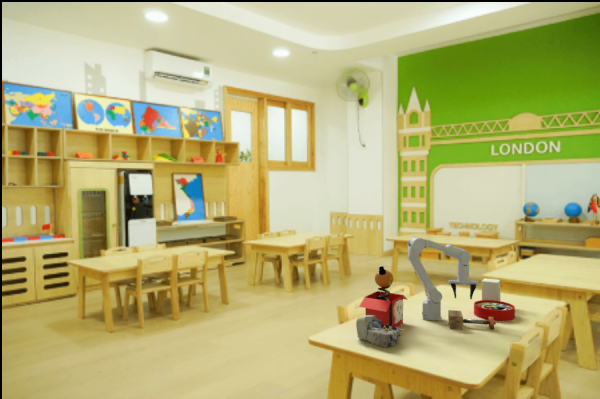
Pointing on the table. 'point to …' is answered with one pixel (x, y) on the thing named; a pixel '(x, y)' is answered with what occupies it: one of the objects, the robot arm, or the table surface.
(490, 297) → the supplement box
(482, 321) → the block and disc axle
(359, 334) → the grey lumpy piece
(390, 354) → the table surface
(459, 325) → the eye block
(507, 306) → the toy clock
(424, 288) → the robot arm
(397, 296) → the jack-in-the-box
